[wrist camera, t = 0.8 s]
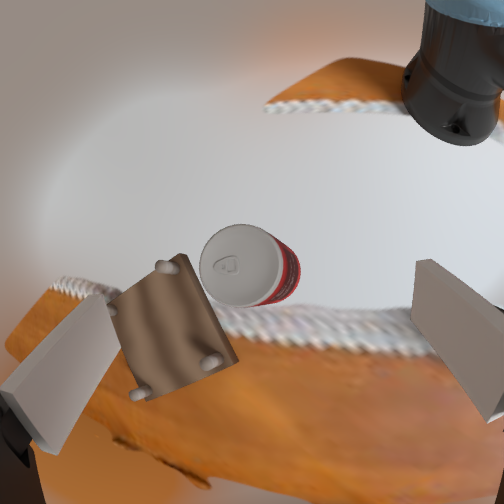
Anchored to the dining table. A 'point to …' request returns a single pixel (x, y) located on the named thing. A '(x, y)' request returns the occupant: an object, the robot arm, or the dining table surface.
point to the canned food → (248, 267)
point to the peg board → (169, 330)
